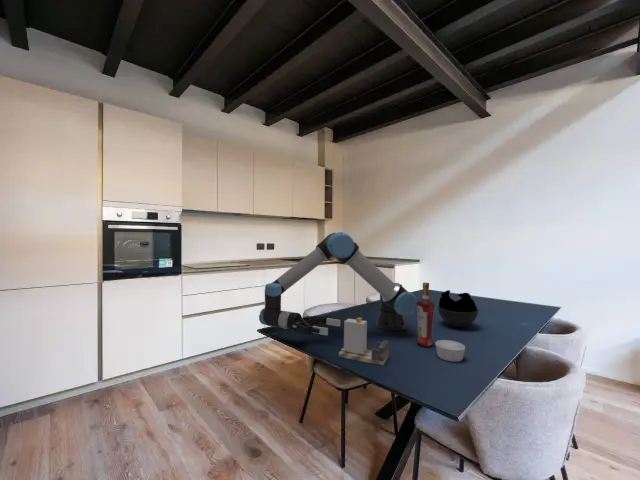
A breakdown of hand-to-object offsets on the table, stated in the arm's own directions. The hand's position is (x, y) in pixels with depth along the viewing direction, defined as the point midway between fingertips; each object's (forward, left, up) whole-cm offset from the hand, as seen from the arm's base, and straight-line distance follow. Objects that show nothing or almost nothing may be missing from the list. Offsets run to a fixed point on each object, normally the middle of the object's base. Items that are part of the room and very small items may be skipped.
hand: (334, 327), depth 127 cm
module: (-8, +5, -8) cm, 12 cm away
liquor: (-42, -4, -10) cm, 43 cm away
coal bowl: (-73, -30, -10) cm, 80 cm away
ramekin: (-46, +10, -10) cm, 48 cm away
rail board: (-11, +7, -10) cm, 16 cm away
